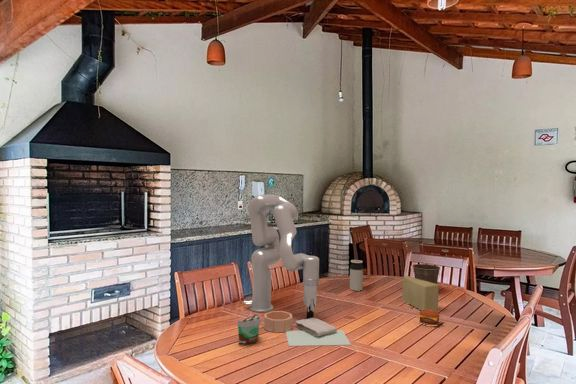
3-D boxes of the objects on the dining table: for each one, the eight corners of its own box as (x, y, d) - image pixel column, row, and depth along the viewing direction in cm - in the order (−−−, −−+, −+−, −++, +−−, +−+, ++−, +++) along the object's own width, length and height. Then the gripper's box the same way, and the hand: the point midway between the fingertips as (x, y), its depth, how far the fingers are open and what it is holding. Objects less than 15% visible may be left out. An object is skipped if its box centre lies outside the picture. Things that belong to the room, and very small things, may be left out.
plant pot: (409, 288, 257) (410, 263, 256) (436, 289, 255) (436, 264, 254) (414, 295, 241) (415, 268, 240) (442, 296, 238) (443, 269, 238)
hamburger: (437, 328, 186) (437, 314, 186) (416, 324, 192) (416, 311, 191) (441, 322, 194) (442, 309, 194) (421, 319, 200) (421, 305, 199)
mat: (288, 346, 164) (288, 345, 164) (285, 331, 180) (285, 330, 180) (351, 345, 166) (351, 344, 166) (342, 330, 182) (342, 330, 182)
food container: (248, 349, 160) (249, 324, 160) (236, 345, 164) (237, 321, 163) (266, 338, 171) (266, 315, 171) (254, 335, 174) (255, 312, 174)
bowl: (264, 333, 177) (264, 320, 177) (263, 322, 190) (263, 311, 190) (293, 332, 178) (293, 320, 178) (290, 322, 191) (291, 310, 191)
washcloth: (313, 321, 193) (313, 315, 193) (338, 332, 178) (338, 326, 178) (293, 326, 186) (293, 319, 186) (317, 338, 171) (317, 331, 171)
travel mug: (362, 291, 246) (363, 262, 246) (349, 290, 248) (350, 261, 247) (362, 288, 254) (363, 260, 253) (349, 287, 255) (350, 259, 255)
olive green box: (396, 302, 227) (396, 275, 226) (409, 300, 231) (410, 274, 230) (424, 314, 207) (425, 285, 206) (438, 311, 211) (439, 283, 210)
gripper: (301, 278, 200) (300, 314, 201) (305, 286, 185) (304, 325, 186) (315, 278, 201) (315, 314, 201) (321, 286, 186) (320, 325, 186)
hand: (310, 319), depth 194 cm, fingers closed
